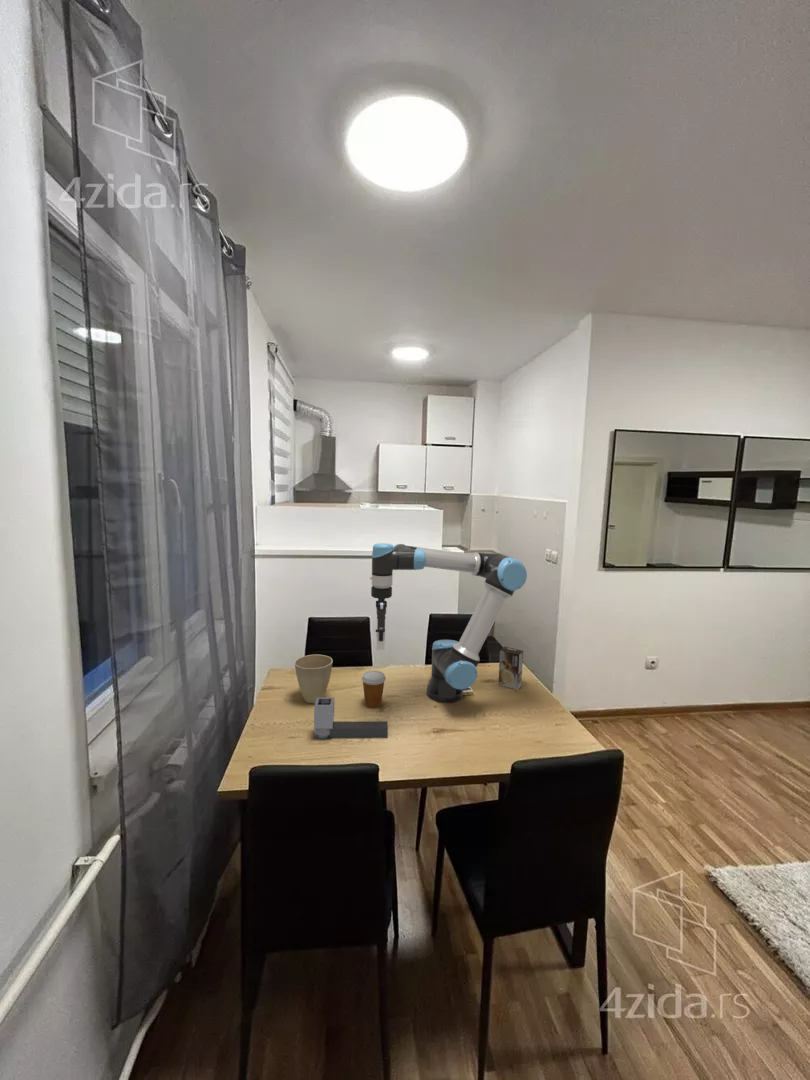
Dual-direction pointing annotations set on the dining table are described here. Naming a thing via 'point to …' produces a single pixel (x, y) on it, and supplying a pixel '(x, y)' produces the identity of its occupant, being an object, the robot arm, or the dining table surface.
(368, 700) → the disposable coffee cup
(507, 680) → the coffee box
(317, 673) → the plant pot
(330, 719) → the socket
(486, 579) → the robot arm
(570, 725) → the dining table surface
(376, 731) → the ratchet
